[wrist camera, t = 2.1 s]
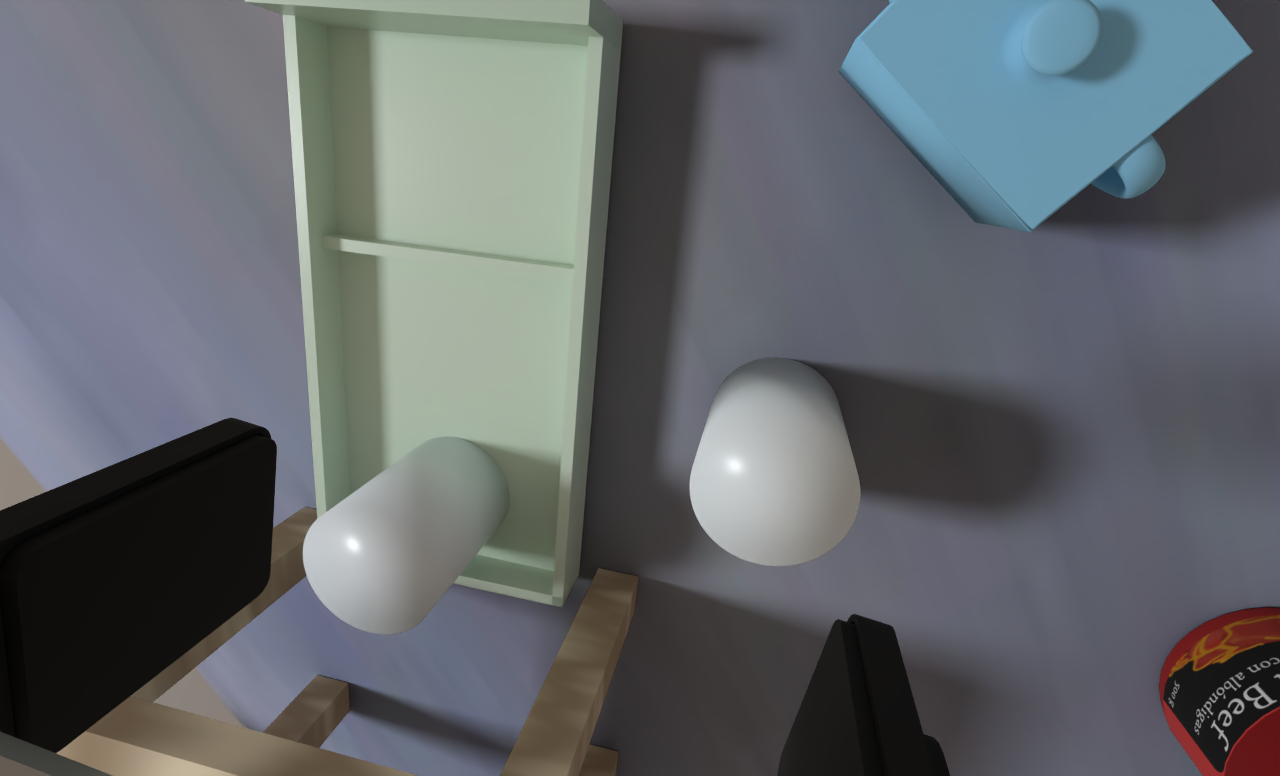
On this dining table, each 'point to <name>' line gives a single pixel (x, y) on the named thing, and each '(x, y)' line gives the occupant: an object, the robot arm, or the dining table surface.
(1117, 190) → the teapot
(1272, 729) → the canned food
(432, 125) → the tray
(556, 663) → the miniature wooden table
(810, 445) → the white piece
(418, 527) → the white rounded cylinder
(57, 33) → the dining table surface
